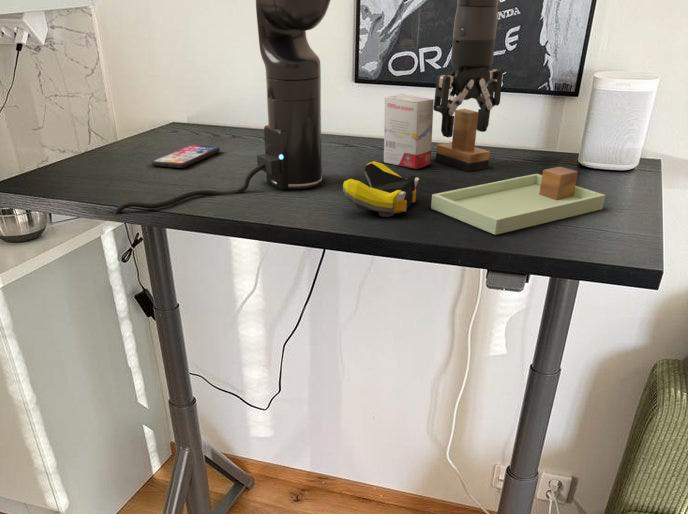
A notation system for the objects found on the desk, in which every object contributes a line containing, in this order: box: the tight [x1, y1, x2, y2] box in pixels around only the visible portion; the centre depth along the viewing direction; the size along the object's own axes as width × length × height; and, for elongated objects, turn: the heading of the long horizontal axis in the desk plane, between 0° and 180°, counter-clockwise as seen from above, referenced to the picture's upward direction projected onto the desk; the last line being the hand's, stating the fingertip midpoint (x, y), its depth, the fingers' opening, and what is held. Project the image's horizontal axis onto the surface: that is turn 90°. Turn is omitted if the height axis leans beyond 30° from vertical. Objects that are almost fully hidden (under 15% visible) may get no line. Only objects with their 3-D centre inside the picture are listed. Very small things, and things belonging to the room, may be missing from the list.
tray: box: [430, 173, 606, 236], centre depth 119 cm, size 24×16×2 cm, turn 122°
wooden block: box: [539, 166, 579, 200], centre depth 122 cm, size 4×4×4 cm
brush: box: [435, 108, 491, 172], centre depth 140 cm, size 5×10×10 cm, turn 32°
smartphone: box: [151, 144, 221, 169], centre depth 147 cm, size 8×1×15 cm
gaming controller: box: [342, 161, 420, 218], centre depth 120 cm, size 15×6×10 cm
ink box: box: [383, 93, 435, 170], centre depth 140 cm, size 9×5×12 cm, turn 44°
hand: (464, 133), depth 140 cm, fingers open, 8 cm apart
